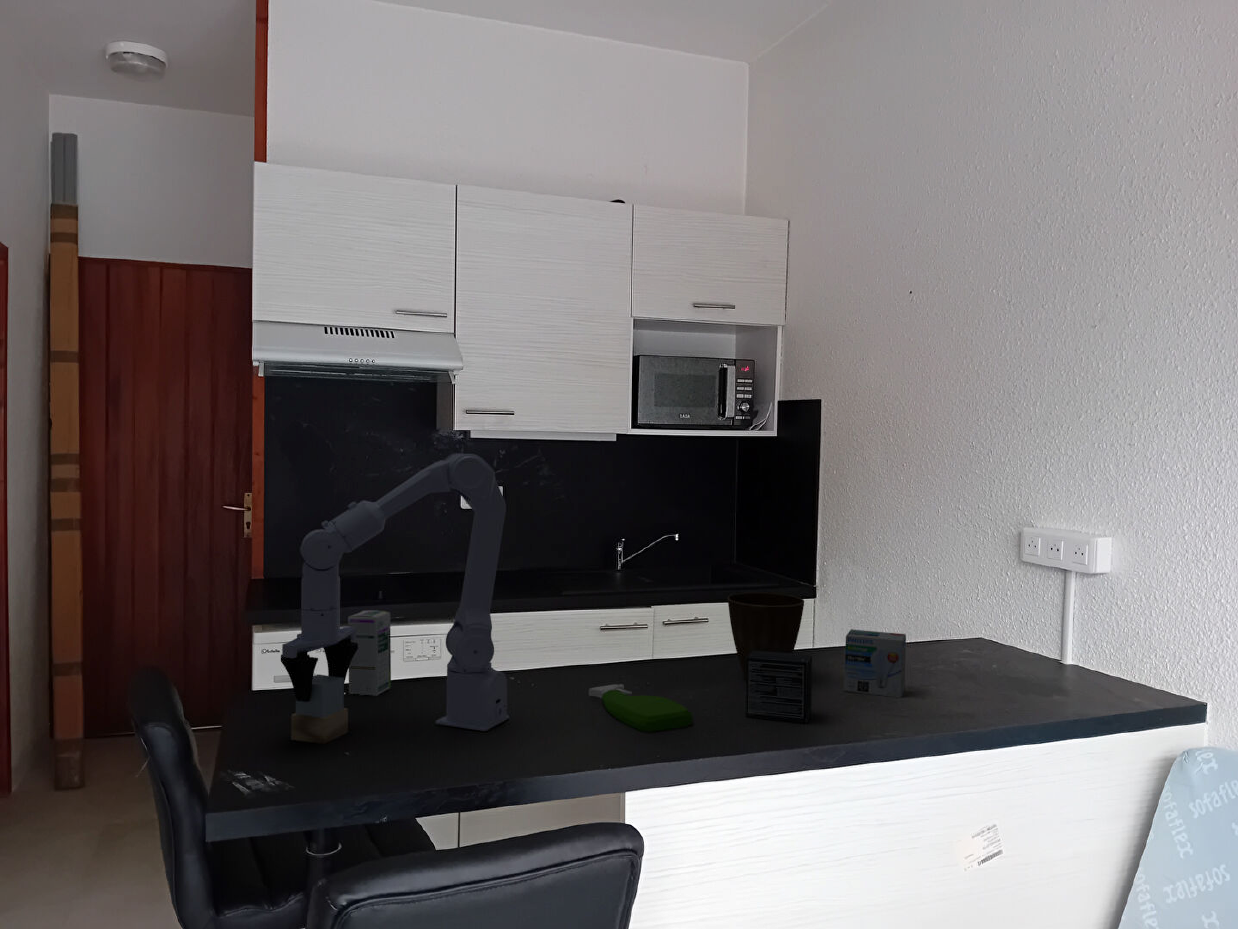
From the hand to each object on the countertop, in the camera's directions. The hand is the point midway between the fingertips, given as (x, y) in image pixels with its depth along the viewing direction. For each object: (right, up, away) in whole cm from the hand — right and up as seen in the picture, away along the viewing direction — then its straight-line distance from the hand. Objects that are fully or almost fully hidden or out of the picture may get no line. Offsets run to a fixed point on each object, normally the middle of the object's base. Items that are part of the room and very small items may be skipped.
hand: (320, 694), depth 144 cm
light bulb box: (+95, -7, +31) cm, 100 cm away
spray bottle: (+49, -7, +17) cm, 52 cm away
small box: (+74, -7, +14) cm, 75 cm away
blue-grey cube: (0, -3, 0) cm, 3 cm away
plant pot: (+75, -7, +38) cm, 85 cm away
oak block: (0, -7, 0) cm, 7 cm away
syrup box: (+1, -6, +26) cm, 26 cm away
